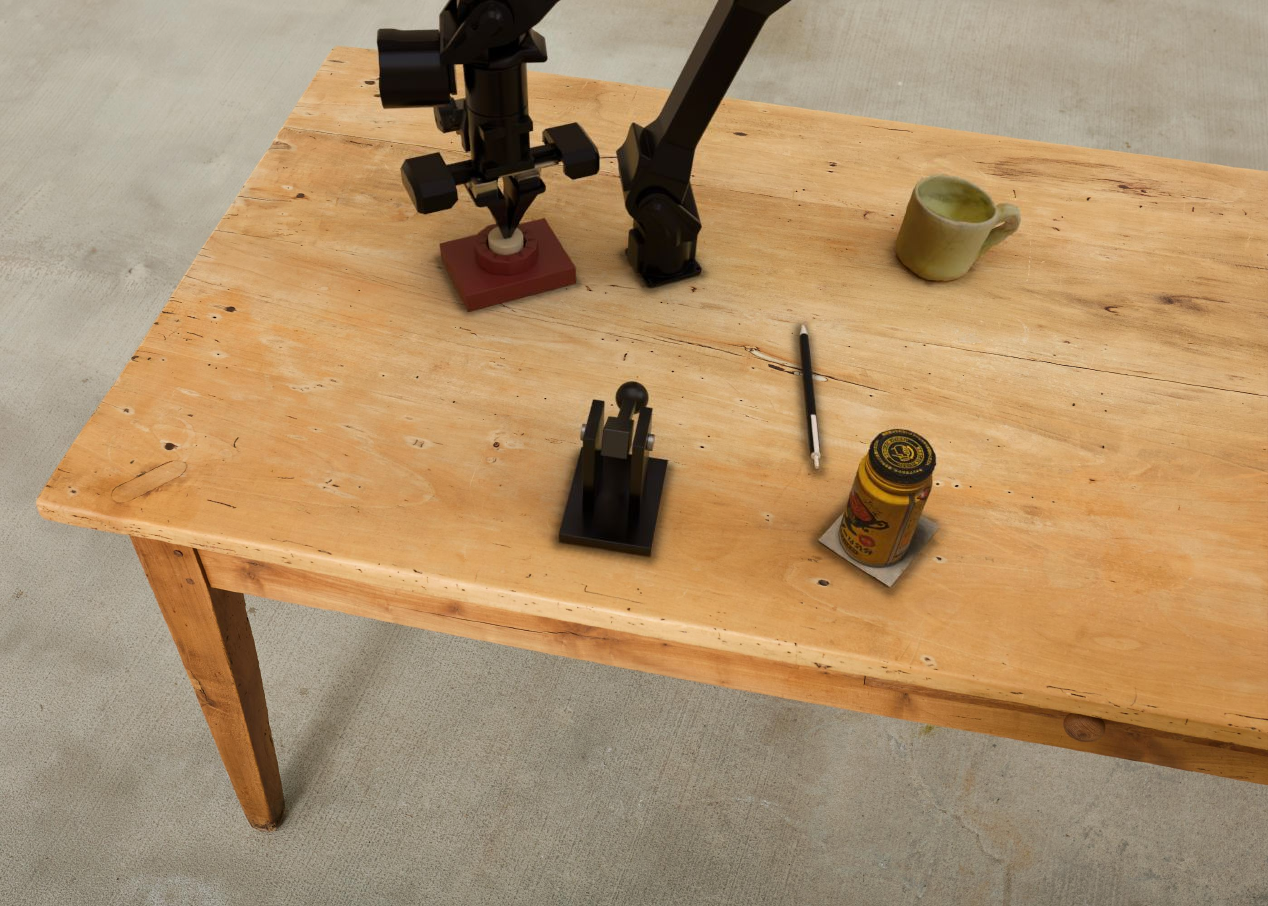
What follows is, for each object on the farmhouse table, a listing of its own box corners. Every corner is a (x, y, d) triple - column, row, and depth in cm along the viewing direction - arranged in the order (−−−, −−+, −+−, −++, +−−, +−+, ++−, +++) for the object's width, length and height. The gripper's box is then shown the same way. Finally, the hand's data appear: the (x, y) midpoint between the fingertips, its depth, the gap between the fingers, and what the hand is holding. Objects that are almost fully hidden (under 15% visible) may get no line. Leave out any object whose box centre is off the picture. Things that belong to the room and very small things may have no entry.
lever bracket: (581, 454, 97) (581, 372, 89) (667, 467, 96) (675, 385, 88) (558, 542, 90) (556, 462, 82) (650, 557, 90) (658, 477, 82)
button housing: (545, 233, 117) (544, 204, 114) (575, 283, 112) (575, 253, 109) (441, 259, 114) (437, 229, 111) (467, 312, 109) (464, 282, 105)
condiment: (817, 541, 92) (843, 452, 82) (869, 484, 96) (899, 394, 87) (889, 589, 89) (925, 502, 80) (939, 528, 93) (978, 439, 84)
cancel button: (516, 235, 112) (515, 222, 111) (528, 255, 110) (528, 242, 109) (484, 243, 111) (483, 229, 110) (496, 263, 109) (495, 250, 108)
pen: (811, 470, 97) (813, 462, 96) (797, 327, 109) (799, 319, 108) (820, 470, 97) (823, 463, 96) (806, 328, 109) (808, 320, 108)
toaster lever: (616, 404, 97) (619, 374, 95) (648, 409, 96) (652, 379, 95) (595, 458, 86) (598, 424, 85) (631, 463, 86) (635, 430, 84)
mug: (884, 273, 112) (925, 186, 107) (879, 240, 121) (916, 158, 115) (992, 310, 113) (1038, 225, 107) (979, 275, 121) (1021, 194, 116)
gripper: (558, 40, 105) (560, 173, 117) (374, 75, 99) (396, 211, 111) (603, 98, 98) (600, 232, 110) (408, 139, 93) (428, 276, 105)
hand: (506, 236), depth 109 cm, fingers closed, pressing on cancel button
